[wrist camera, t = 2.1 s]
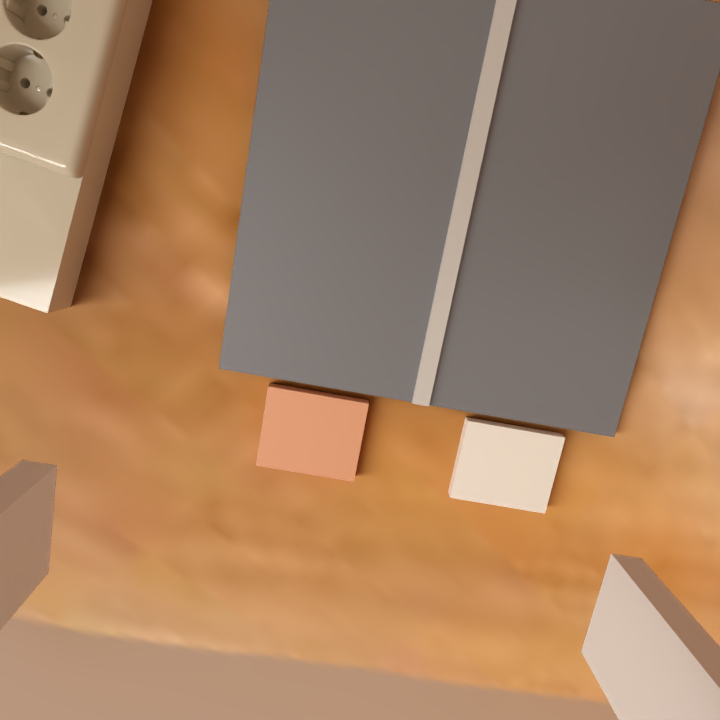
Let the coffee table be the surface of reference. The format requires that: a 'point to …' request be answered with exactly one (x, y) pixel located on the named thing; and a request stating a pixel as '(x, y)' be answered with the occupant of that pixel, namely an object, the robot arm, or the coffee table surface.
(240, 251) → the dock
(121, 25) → the electrical outlet
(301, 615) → the coffee table surface
